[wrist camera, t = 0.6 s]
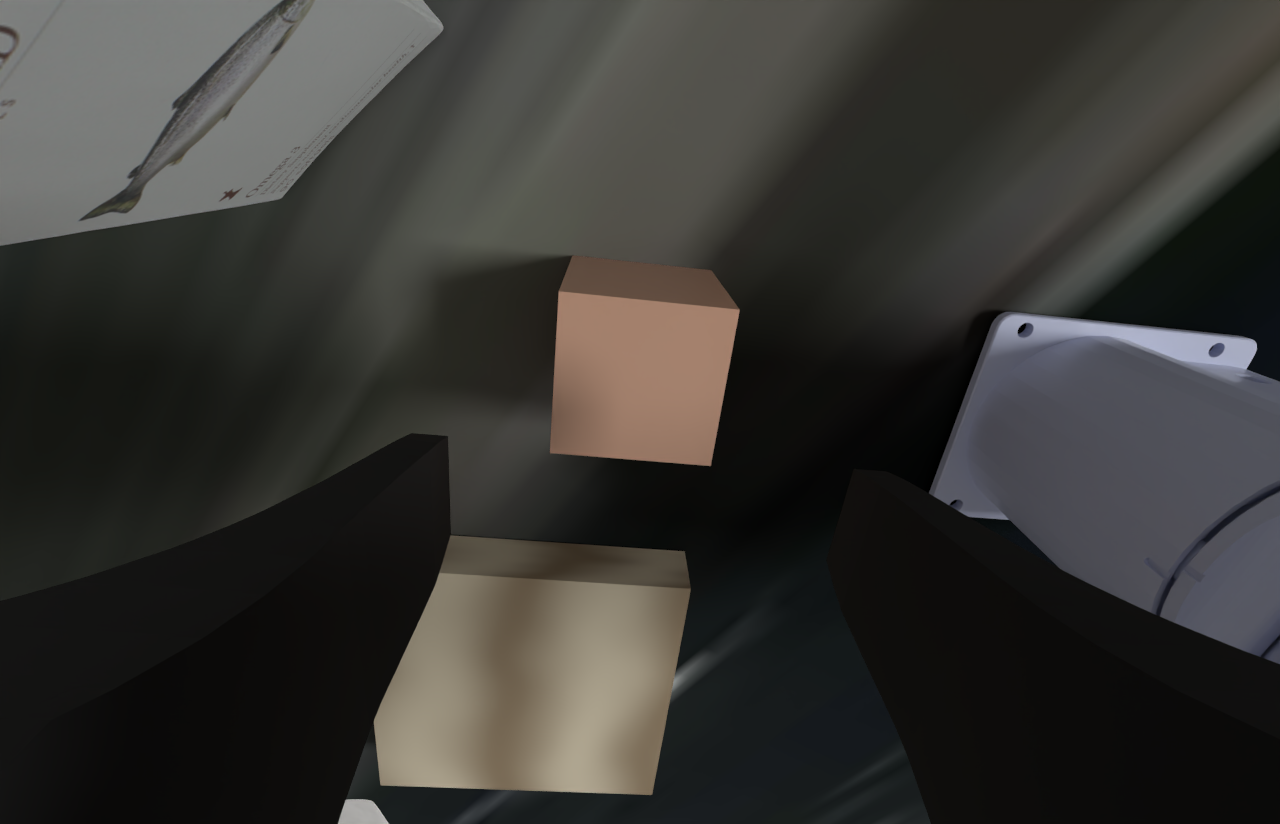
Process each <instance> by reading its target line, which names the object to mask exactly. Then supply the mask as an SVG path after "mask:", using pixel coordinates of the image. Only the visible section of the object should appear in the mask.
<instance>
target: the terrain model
mask: <svg viewBox="0 0 1280 824" xmlns="http://www.w3.org/2000/svg"><path fill="white" fill-rule="evenodd" d="M338 824H389V823H388V822H387V820H386V819H385V817H384V816H383V814H382V813H381V811H380V810H379V809H378V807H377V806H376V805H375V803H374V802H372V801H370V800H362V799H358V800H356V799H352V800H345V803H344V806H343V809H342V812H341V816H340V819H339V822H338Z"/></svg>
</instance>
